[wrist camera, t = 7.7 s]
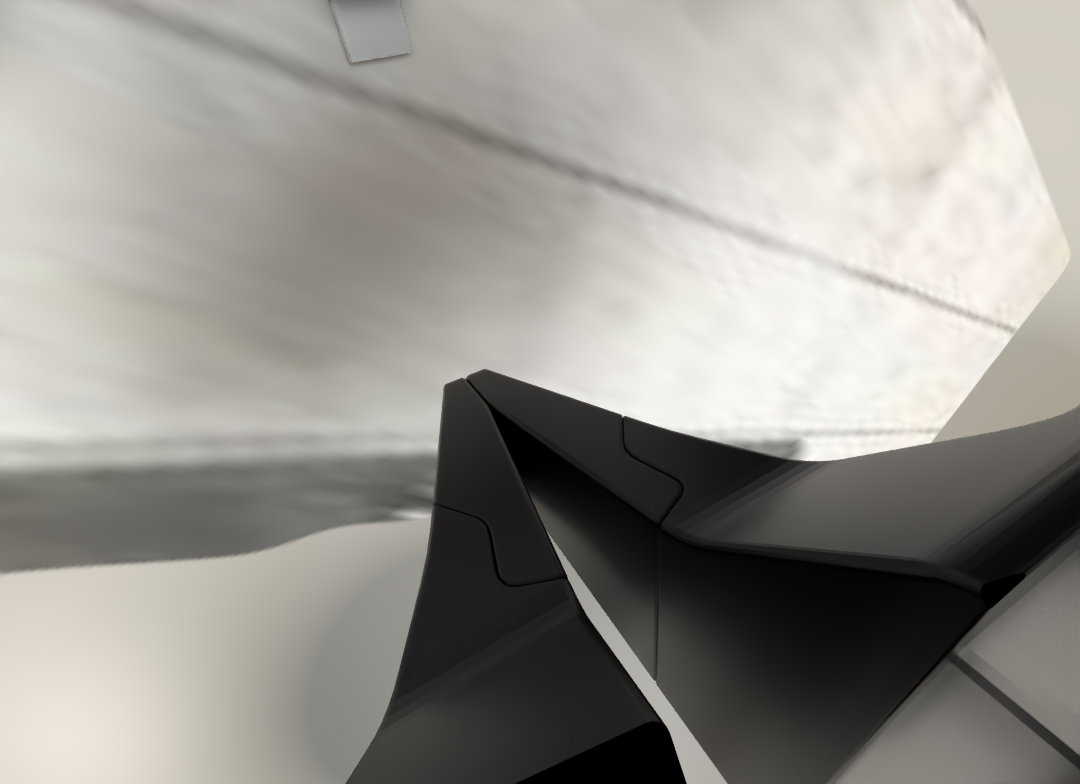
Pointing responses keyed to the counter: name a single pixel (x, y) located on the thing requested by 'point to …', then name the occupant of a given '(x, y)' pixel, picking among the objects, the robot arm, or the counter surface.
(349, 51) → the grey angular piece
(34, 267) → the counter surface
